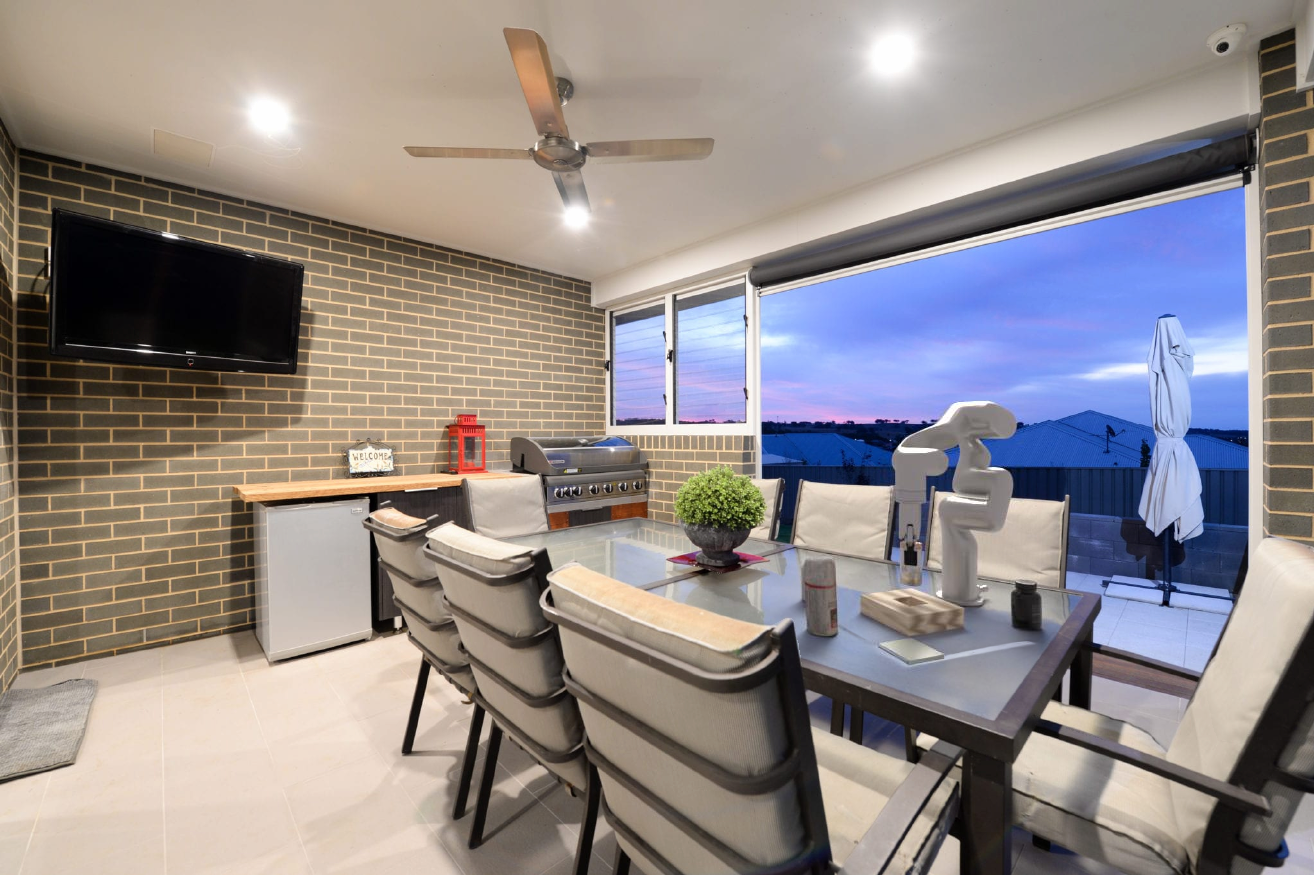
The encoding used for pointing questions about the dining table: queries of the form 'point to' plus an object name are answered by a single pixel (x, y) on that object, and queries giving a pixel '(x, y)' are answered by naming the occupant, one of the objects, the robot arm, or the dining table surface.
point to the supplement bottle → (1026, 606)
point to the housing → (912, 611)
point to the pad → (912, 651)
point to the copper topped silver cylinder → (911, 567)
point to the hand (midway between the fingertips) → (911, 561)
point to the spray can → (821, 596)
